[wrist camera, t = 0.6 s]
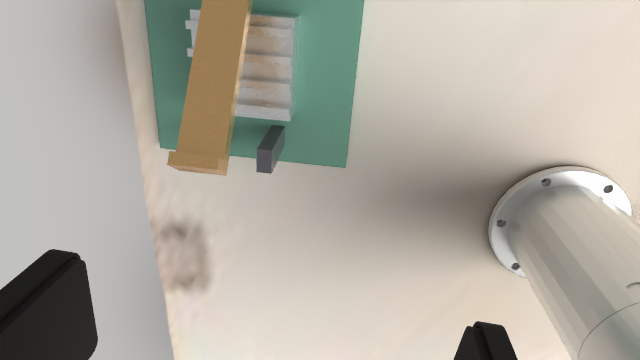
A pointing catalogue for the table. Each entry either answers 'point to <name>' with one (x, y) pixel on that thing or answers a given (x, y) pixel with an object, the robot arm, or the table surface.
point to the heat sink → (265, 65)
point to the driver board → (312, 81)
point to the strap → (213, 87)
